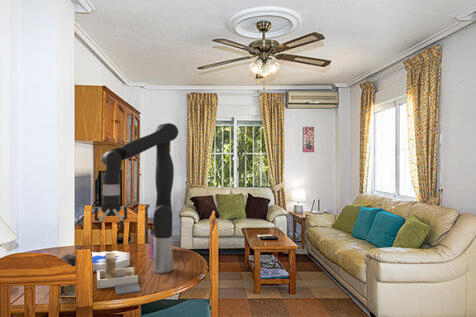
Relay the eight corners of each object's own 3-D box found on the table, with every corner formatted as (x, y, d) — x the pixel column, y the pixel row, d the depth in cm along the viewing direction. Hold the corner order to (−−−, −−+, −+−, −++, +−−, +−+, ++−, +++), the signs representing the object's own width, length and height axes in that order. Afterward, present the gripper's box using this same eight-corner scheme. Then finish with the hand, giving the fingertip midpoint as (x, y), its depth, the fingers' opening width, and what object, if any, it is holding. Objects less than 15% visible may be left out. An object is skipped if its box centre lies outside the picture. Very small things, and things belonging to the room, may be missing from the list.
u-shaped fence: (134, 273, 171) (134, 266, 171) (137, 283, 157) (138, 275, 157) (97, 278, 164) (97, 270, 164) (97, 288, 150) (97, 280, 150)
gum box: (162, 259, 198) (162, 235, 198) (148, 259, 198) (148, 235, 199) (171, 249, 222) (171, 227, 222) (158, 249, 222) (159, 227, 222)
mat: (138, 283, 156) (138, 282, 156) (140, 291, 147) (140, 290, 147) (114, 286, 153) (114, 285, 153) (116, 294, 143) (116, 293, 143)
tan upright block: (114, 277, 165) (114, 252, 165) (115, 284, 155) (115, 257, 156) (105, 278, 163) (105, 253, 163) (105, 285, 154) (106, 258, 154)
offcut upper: (131, 272, 166) (131, 267, 166) (134, 276, 160) (134, 271, 160) (123, 273, 165) (123, 268, 165) (126, 277, 158) (126, 272, 158)
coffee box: (88, 292, 146) (89, 253, 146) (82, 298, 140) (82, 257, 140) (66, 292, 146) (67, 253, 146) (59, 298, 139) (59, 257, 140)
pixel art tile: (140, 255, 193) (99, 268, 168) (140, 262, 193) (99, 276, 168) (105, 249, 206) (62, 260, 181) (104, 255, 206) (61, 268, 181)
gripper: (126, 193, 166) (126, 227, 166) (94, 193, 161) (94, 228, 161) (128, 194, 159) (127, 229, 159) (94, 195, 154) (94, 231, 154)
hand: (110, 229), depth 160 cm, fingers open, 8 cm apart
